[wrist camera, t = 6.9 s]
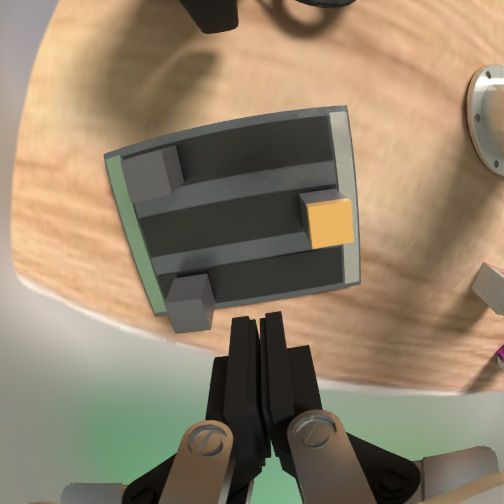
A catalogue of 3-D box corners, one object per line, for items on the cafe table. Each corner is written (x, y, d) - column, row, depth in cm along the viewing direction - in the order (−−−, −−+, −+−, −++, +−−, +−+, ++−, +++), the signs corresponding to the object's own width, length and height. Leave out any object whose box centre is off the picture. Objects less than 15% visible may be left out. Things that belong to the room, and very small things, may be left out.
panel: (341, 106, 22) (347, 105, 20) (355, 276, 28) (361, 285, 27) (110, 152, 23) (102, 154, 21) (158, 307, 29) (154, 317, 28)
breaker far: (207, 273, 26) (200, 298, 22) (215, 302, 27) (210, 329, 23) (174, 278, 26) (163, 303, 22) (184, 306, 27) (175, 333, 23)
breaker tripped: (335, 188, 23) (351, 200, 19) (338, 223, 24) (353, 242, 20) (298, 193, 23) (307, 207, 19) (303, 229, 24) (312, 249, 20)
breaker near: (175, 145, 21) (161, 149, 18) (184, 182, 22) (171, 193, 19) (140, 154, 21) (120, 161, 18) (149, 190, 23) (131, 203, 19)
